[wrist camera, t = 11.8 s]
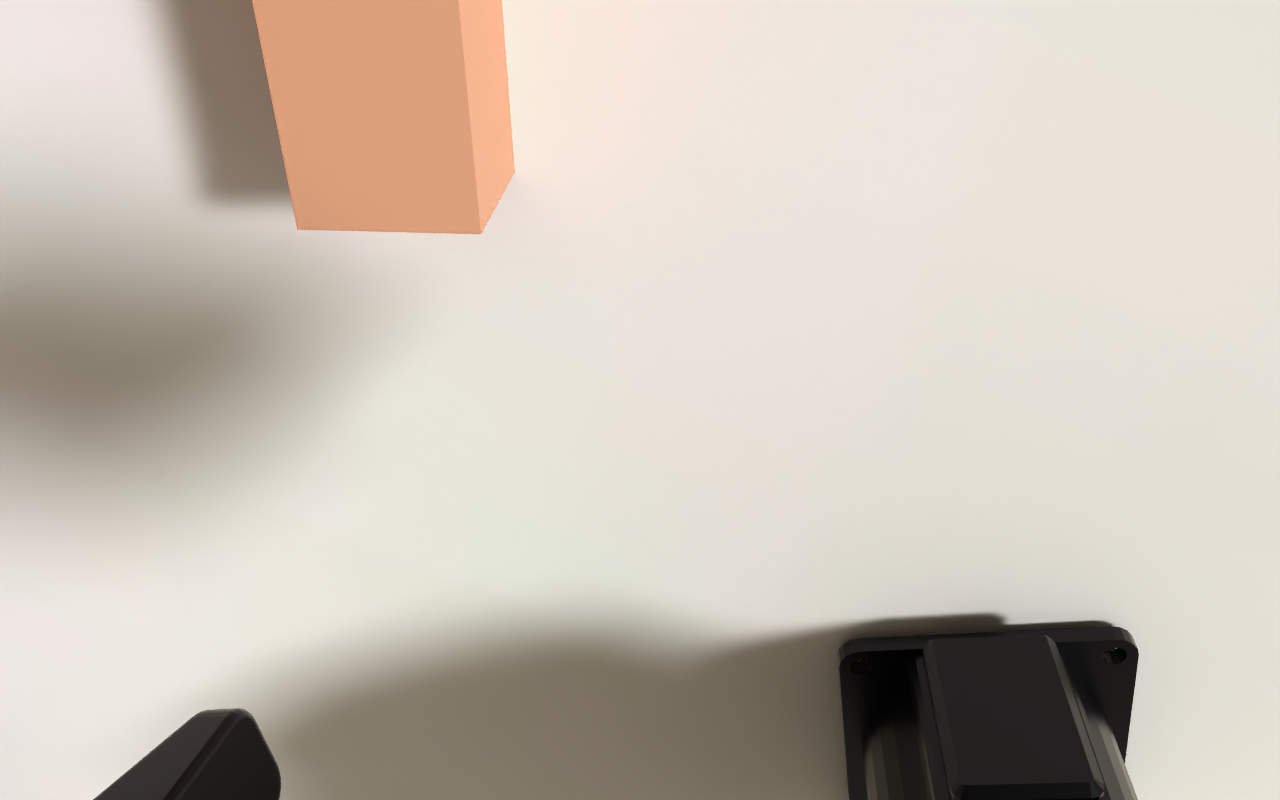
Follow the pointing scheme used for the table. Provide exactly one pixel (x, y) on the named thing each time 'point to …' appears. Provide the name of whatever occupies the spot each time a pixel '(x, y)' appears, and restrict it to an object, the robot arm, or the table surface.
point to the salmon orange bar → (390, 111)
